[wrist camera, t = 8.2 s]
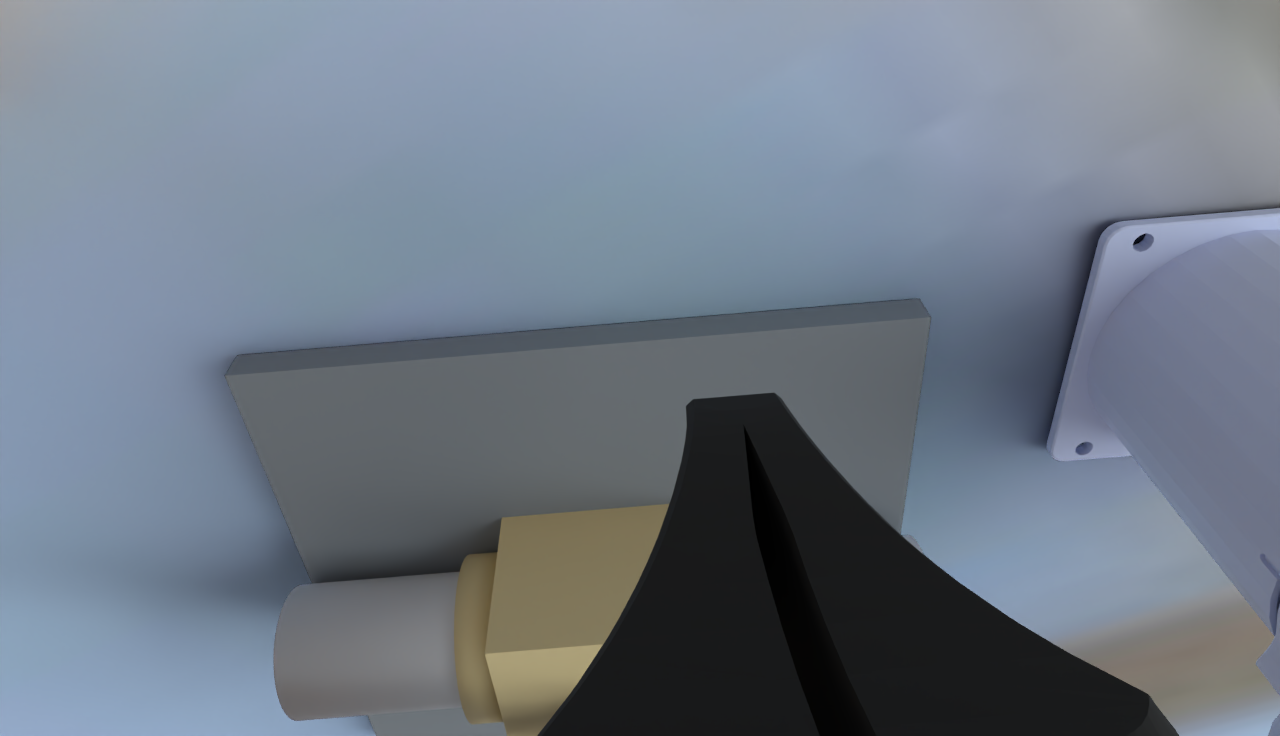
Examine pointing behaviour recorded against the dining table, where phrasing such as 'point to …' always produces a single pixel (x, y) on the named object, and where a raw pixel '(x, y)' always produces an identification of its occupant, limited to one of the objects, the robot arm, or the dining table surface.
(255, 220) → the dining table surface
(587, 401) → the valve base
